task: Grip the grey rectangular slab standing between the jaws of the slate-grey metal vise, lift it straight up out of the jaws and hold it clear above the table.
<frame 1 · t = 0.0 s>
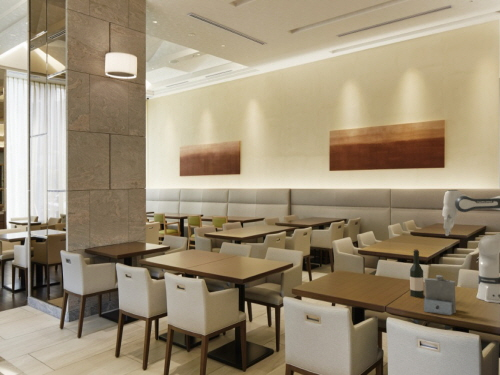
hand: (447, 234, 264), 39 cm above the table, tool pointing down, fingers open, 8 cm apart
vise: (439, 310, 230), on the table
grey rectangular slab: (440, 310, 230), on the table
wine bottle: (416, 295, 261), on the table
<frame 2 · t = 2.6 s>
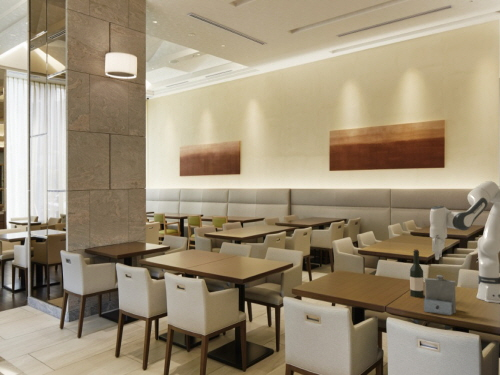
hand: (438, 258, 230), 30 cm above the table, tool pointing down, fingers open, 8 cm apart
nothing on the table moved.
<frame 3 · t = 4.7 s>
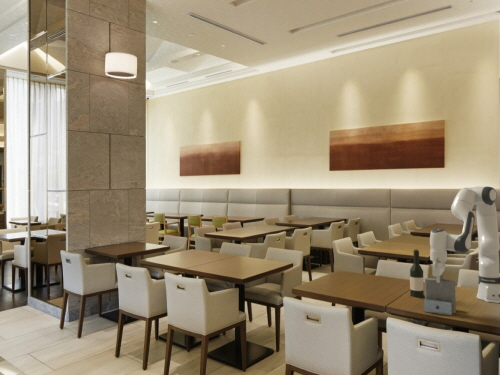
hand: (438, 281, 230), 17 cm above the table, tool pointing down, fingers closed on grey rectangular slab, 4 cm apart
grey rectangular slab: (440, 310, 230), on the table, touching gripper
everything else where it was.
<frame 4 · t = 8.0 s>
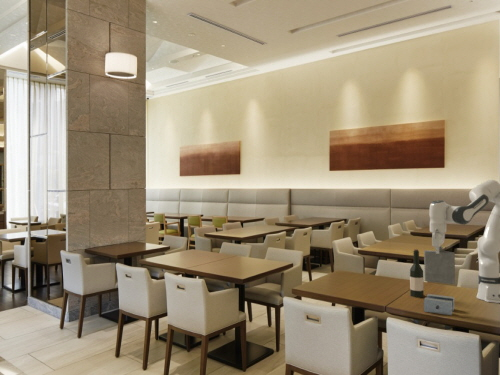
hand: (438, 252, 230), 33 cm above the table, tool pointing down, fingers closed on grey rectangular slab, 4 cm apart
grey rectangular slab: (439, 282, 230), point 16 cm above the table, touching gripper
everything else where it was.
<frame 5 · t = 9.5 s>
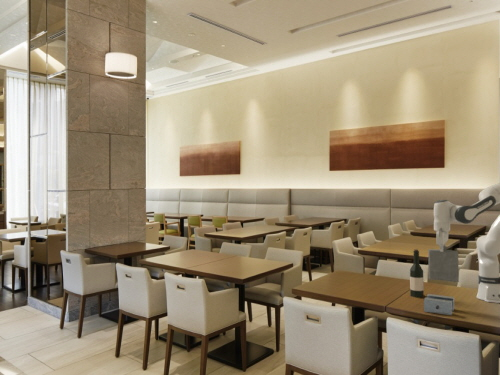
hand: (442, 251, 236), 33 cm above the table, tool pointing down, fingers closed on grey rectangular slab, 4 cm apart
grey rectangular slab: (443, 280, 236), point 16 cm above the table, touching gripper
everything else where it was.
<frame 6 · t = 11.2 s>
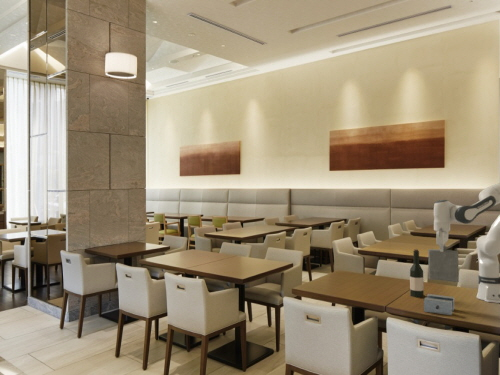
hand: (442, 251, 236), 33 cm above the table, tool pointing down, fingers closed on grey rectangular slab, 4 cm apart
grey rectangular slab: (443, 280, 236), point 16 cm above the table, touching gripper
everything else where it was.
at the end: grey rectangular slab point 15.7 cm above the table; grey rectangular slab touching gripper; the gripper is holding grey rectangular slab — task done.
